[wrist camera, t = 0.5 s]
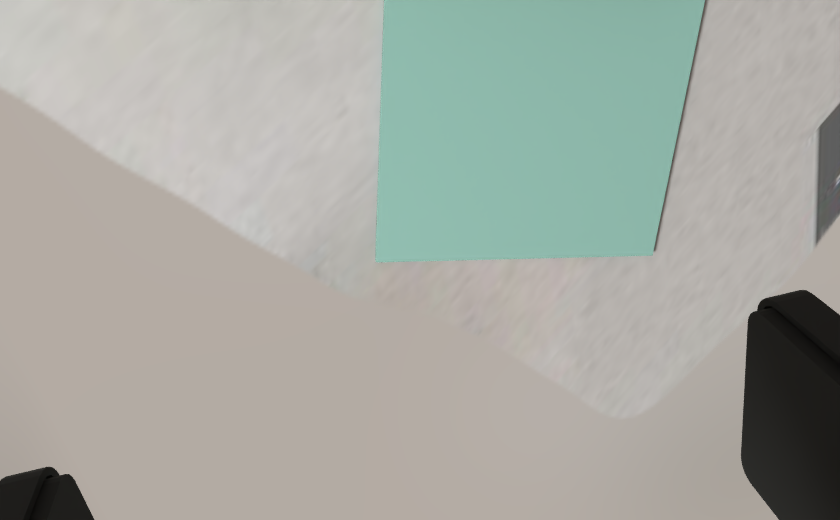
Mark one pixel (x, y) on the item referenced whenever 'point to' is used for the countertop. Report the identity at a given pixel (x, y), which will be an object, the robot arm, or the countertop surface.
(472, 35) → the mat
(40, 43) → the countertop surface
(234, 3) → the countertop surface
